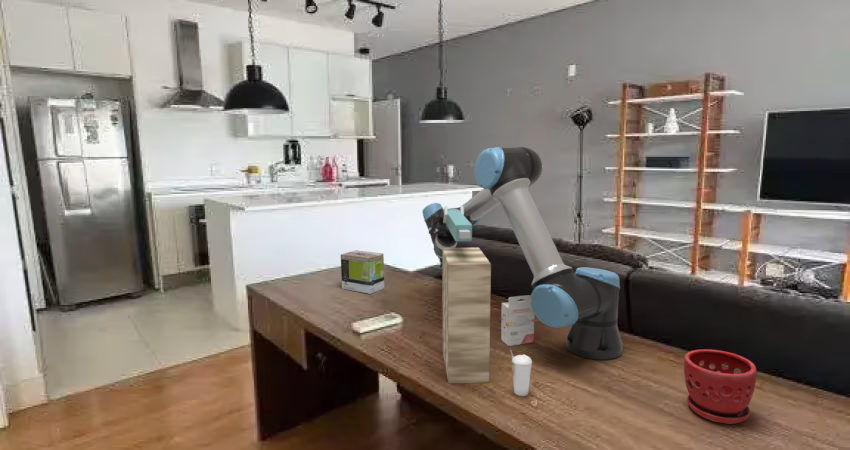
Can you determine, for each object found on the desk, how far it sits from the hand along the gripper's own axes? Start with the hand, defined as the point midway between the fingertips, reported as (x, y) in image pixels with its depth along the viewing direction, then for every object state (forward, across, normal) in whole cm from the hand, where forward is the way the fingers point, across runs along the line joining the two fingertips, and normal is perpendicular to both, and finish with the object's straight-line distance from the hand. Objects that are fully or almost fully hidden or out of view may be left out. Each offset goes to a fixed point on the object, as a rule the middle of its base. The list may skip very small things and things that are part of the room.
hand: (454, 210), depth 136 cm
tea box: (-66, +31, -8) cm, 73 cm away
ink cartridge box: (-17, -19, -36) cm, 44 cm away
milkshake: (+8, -12, -50) cm, 52 cm away
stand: (-4, -1, -43) cm, 43 cm away
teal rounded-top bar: (+4, 0, -8) cm, 9 cm away
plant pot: (+17, -52, -55) cm, 78 cm away
